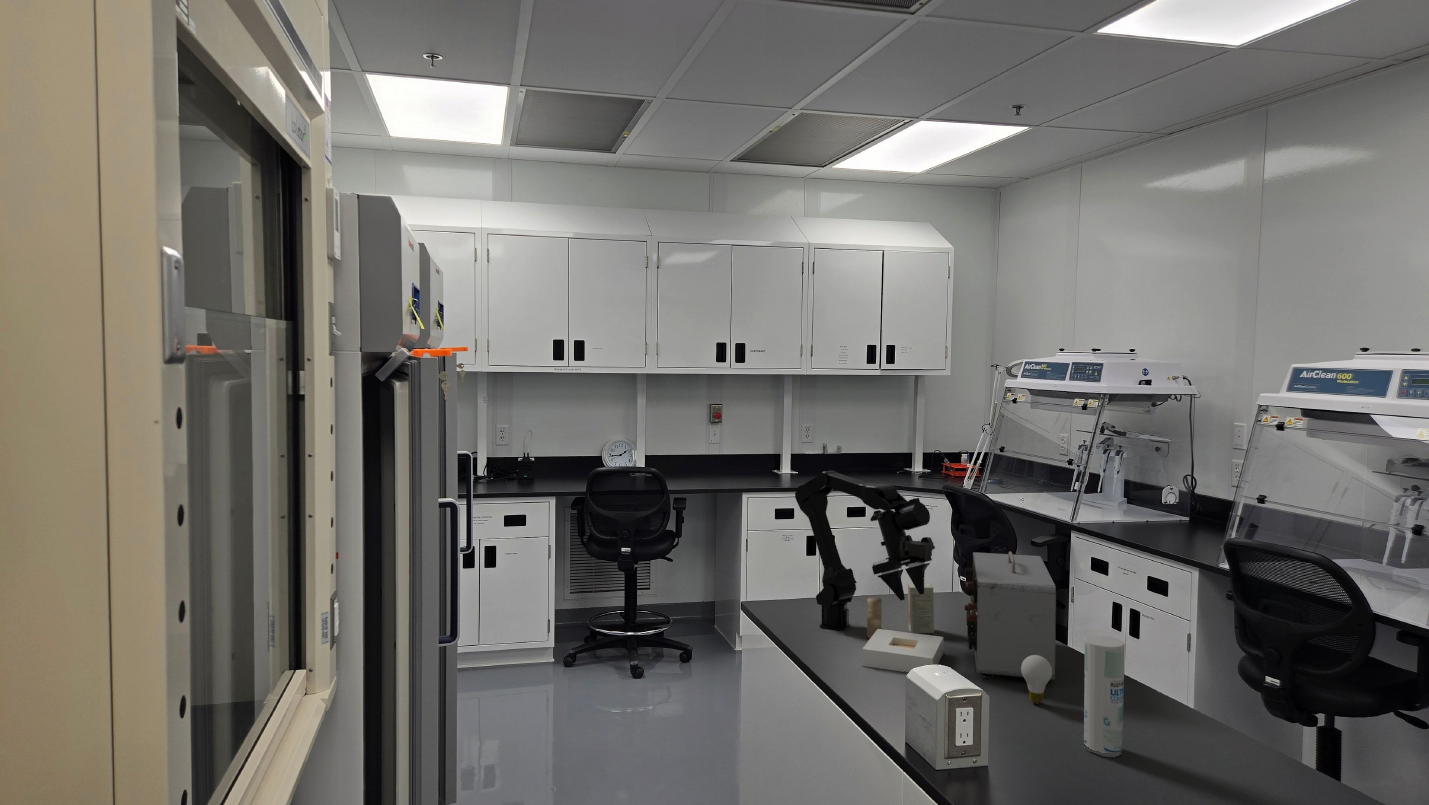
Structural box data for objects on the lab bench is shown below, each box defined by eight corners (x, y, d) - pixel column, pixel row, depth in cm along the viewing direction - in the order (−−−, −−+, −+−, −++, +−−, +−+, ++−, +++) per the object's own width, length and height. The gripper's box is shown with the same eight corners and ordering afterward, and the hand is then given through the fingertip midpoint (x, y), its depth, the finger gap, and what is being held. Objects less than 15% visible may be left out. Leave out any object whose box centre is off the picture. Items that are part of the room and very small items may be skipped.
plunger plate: (889, 654, 192) (889, 651, 192) (894, 647, 197) (894, 644, 197) (913, 657, 190) (913, 654, 190) (917, 650, 195) (917, 647, 195)
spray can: (1111, 761, 143) (1112, 649, 142) (1076, 748, 148) (1077, 639, 148) (1129, 751, 147) (1131, 642, 146) (1095, 738, 152) (1096, 632, 151)
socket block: (862, 665, 190) (862, 648, 190) (877, 644, 204) (877, 628, 204) (932, 676, 183) (932, 658, 183) (943, 653, 198) (943, 637, 198)
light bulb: (1050, 700, 170) (1051, 652, 169) (1052, 711, 164) (1053, 662, 164) (1020, 696, 172) (1020, 649, 171) (1021, 707, 166) (1021, 659, 166)
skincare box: (931, 628, 217) (932, 583, 216) (934, 634, 212) (934, 587, 212) (907, 628, 217) (907, 582, 217) (909, 633, 213) (909, 587, 213)
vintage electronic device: (963, 634, 212) (964, 539, 211) (1038, 640, 207) (1039, 543, 206) (967, 679, 181) (968, 568, 180) (1054, 688, 176) (1056, 573, 175)
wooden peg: (865, 638, 209) (865, 600, 209) (869, 634, 212) (869, 596, 212) (879, 640, 207) (879, 601, 207) (882, 636, 211) (882, 598, 210)
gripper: (901, 530, 191) (921, 596, 187) (940, 523, 204) (959, 585, 200) (863, 541, 198) (881, 605, 194) (903, 533, 211) (921, 593, 208)
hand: (912, 597), depth 199 cm, fingers open, 9 cm apart
